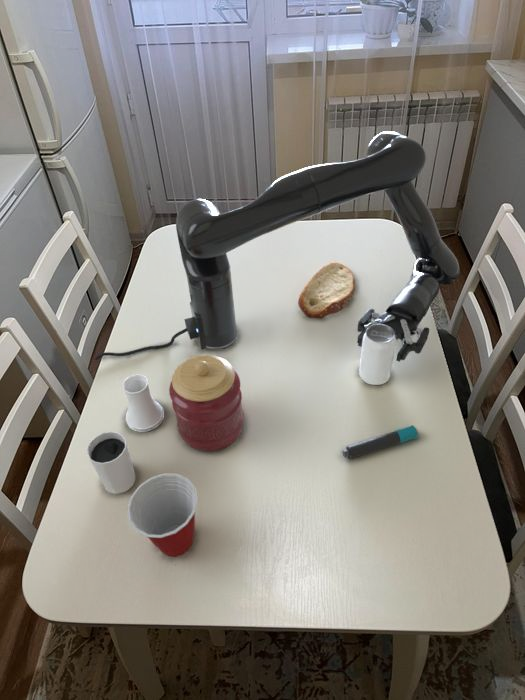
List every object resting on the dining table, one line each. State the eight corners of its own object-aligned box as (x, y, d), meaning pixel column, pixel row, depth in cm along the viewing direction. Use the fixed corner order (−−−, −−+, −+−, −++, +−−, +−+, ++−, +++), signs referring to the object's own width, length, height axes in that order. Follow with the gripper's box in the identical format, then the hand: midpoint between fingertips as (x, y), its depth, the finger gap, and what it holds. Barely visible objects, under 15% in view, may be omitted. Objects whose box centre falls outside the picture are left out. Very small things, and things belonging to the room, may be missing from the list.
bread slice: (342, 264, 144) (342, 253, 142) (375, 303, 132) (377, 291, 129) (279, 281, 140) (279, 269, 138) (307, 323, 128) (308, 311, 125)
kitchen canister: (253, 409, 110) (248, 345, 97) (230, 460, 101) (221, 398, 89) (195, 395, 113) (183, 332, 101) (167, 443, 104) (150, 381, 92)
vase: (147, 437, 106) (137, 404, 99) (118, 422, 109) (106, 389, 102) (171, 411, 110) (163, 378, 103) (143, 398, 113) (133, 364, 106)
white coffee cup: (106, 464, 101) (92, 431, 95) (141, 464, 101) (129, 431, 94) (97, 496, 97) (81, 463, 90) (134, 496, 96) (121, 463, 89)
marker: (343, 460, 100) (347, 461, 98) (339, 447, 101) (343, 448, 98) (413, 437, 103) (419, 437, 101) (409, 425, 104) (415, 425, 101)
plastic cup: (144, 514, 94) (129, 475, 85) (206, 507, 94) (197, 468, 86) (139, 576, 86) (122, 539, 78) (207, 569, 86) (197, 532, 78)
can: (389, 388, 112) (396, 345, 104) (357, 384, 113) (362, 342, 105) (390, 366, 117) (397, 323, 108) (360, 362, 118) (364, 320, 110)
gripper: (381, 284, 121) (348, 325, 111) (443, 304, 115) (414, 349, 105) (377, 310, 126) (346, 351, 117) (437, 330, 120) (409, 376, 111)
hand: (378, 350), depth 111 cm, fingers open, 8 cm apart
